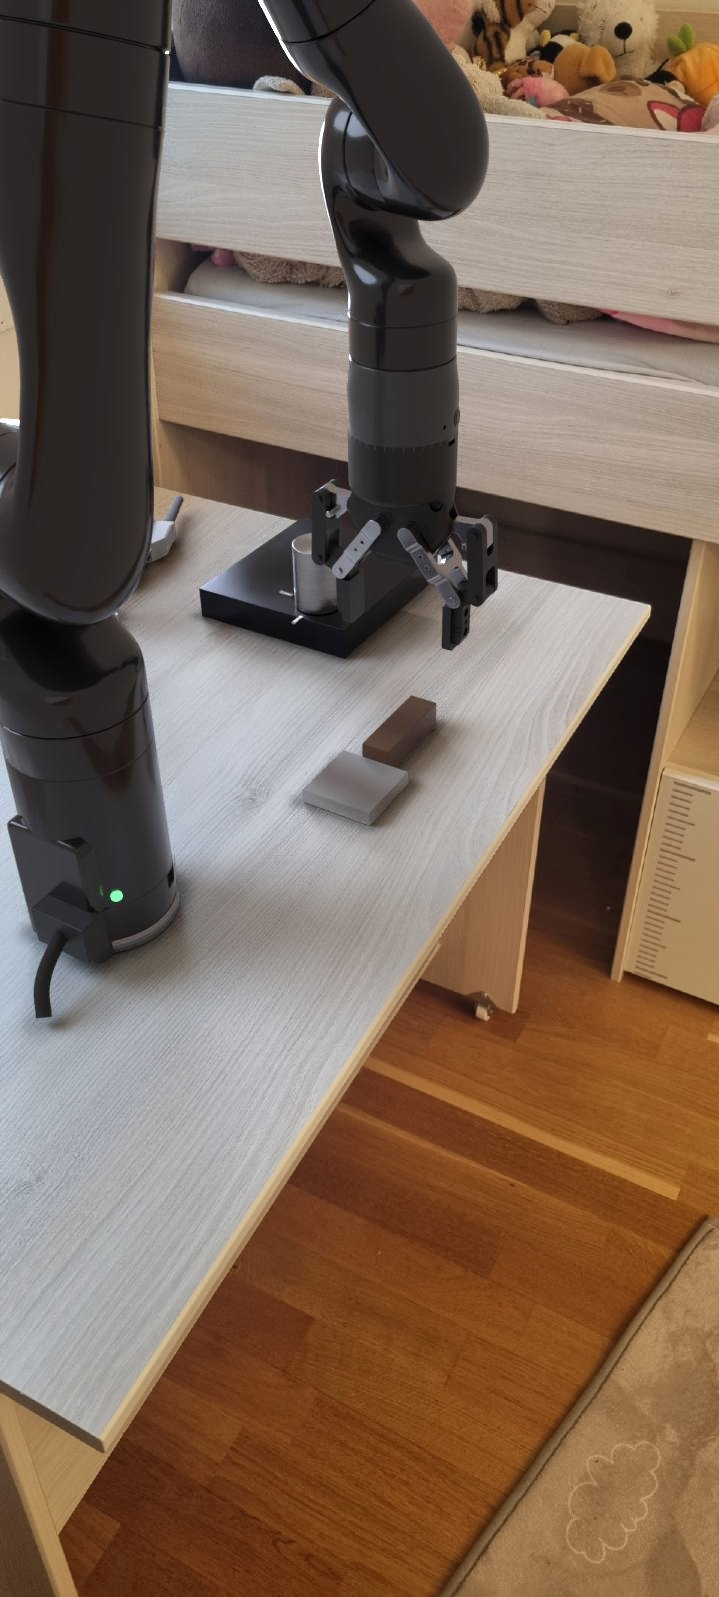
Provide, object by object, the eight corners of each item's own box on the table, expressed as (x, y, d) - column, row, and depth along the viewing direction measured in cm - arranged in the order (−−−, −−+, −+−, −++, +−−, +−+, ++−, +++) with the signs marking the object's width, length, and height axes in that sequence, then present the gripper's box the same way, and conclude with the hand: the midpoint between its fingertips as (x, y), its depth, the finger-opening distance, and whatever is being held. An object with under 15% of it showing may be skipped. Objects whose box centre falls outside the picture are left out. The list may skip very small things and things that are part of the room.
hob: (337, 665, 107) (336, 634, 105) (193, 622, 114) (190, 592, 112) (437, 577, 120) (438, 548, 118) (303, 543, 127) (302, 515, 125)
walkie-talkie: (153, 595, 118) (190, 509, 134) (148, 554, 115) (186, 471, 131) (66, 593, 118) (113, 508, 134) (58, 552, 116) (107, 470, 131)
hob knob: (326, 619, 108) (324, 555, 104) (285, 607, 109) (282, 544, 105) (351, 598, 110) (350, 535, 107) (311, 587, 112) (309, 525, 108)
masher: (391, 712, 101) (392, 688, 99) (455, 733, 98) (456, 708, 97) (302, 801, 91) (300, 776, 90) (369, 826, 89) (369, 800, 88)
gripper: (283, 421, 81) (296, 630, 91) (473, 460, 75) (464, 679, 85) (341, 387, 86) (347, 588, 96) (522, 421, 80) (508, 632, 90)
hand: (402, 631), depth 91 cm, fingers open, 8 cm apart
